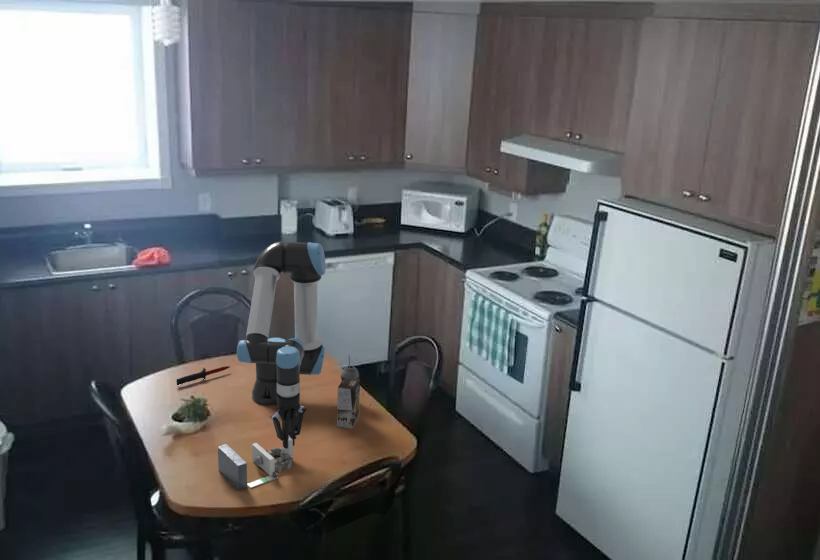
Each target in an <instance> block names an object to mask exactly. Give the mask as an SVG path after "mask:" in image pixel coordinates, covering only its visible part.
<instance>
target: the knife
mask: <svg viewBox="0 0 820 560" xmlns="http://www.w3.org/2000/svg"><path fill="white" fill-rule="evenodd" d="M229 368H231V366H221V367H218V368H217V367H216V368H214V369H211V370H207V369H206V368H205V367H203V369H202V370H201V371H200V372H198V373H197V372H196V373H191V374H189V375H185V376H182V377H180V378H176V386H177V385H179V384H181V385H183V383H184V384H186V382H187V383H190V382H193V381H197V380H199V379H203V378H204V379H205V380H206V378H207V376H210V375H212V374H216V373H220V372H224V371H225V370H228V369H229ZM204 379H203V380H204Z"/></svg>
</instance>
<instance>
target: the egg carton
mask: <svg viewBox="0 0 820 560" xmlns="http://www.w3.org/2000/svg"><path fill="white" fill-rule="evenodd" d="M264 450H265V449H264ZM265 451H266V452H268V453H269V454H270V455H271V456H272V457H273V458H274V467H275V472H276V473H277V472H278V473H281V472H282V470H283V469H287V470H289V469H291V468H292V466H293V459H294V458H293V456H292V457H291V456H290V455H289V454H288V453H287V452H285V448H284V447H283V446H282V447H277V448H276V447H275V448H274V449H270V451H268V450H267V449H266V450H265ZM274 456H276V457H274ZM278 456H279V457H278Z"/></svg>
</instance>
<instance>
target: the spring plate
mask: <svg viewBox="0 0 820 560" xmlns="http://www.w3.org/2000/svg"><path fill="white" fill-rule="evenodd" d="M251 449H252V450H251V454H252V456H251V457H252V461H253V462H254V463H255V465H256V466H259V468H261V469H262V470H263V471H264V472H266V474H268V476H271V475H274V476H275V477H278V478H279V475H278V473H277V472H276V471H275V467H274V466H275V463H274V459H275V457H272V456H271V455H270V454H269V453H268V452H269V451H268V452H266V451H265V449H264V447H262V446H261V445H260V444H258V442H254V443H252V444H251Z"/></svg>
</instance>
